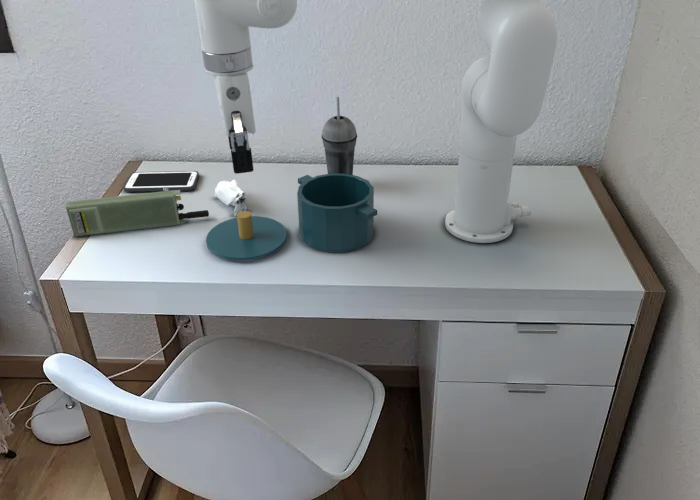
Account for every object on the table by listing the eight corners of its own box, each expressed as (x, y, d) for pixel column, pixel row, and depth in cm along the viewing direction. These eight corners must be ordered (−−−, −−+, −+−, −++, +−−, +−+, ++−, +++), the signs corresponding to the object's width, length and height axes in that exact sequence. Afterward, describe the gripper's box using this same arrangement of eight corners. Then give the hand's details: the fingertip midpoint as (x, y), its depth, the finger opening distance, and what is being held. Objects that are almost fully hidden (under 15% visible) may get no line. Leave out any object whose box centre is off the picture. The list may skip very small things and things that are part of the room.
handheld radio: (75, 229, 125) (209, 214, 129) (73, 239, 122) (209, 223, 126) (66, 199, 121) (204, 184, 125) (64, 208, 118) (205, 193, 123)
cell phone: (132, 176, 143) (131, 172, 143) (199, 174, 144) (199, 170, 143) (123, 192, 137) (122, 188, 136) (193, 191, 137) (193, 186, 137)
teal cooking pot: (330, 203, 132) (329, 162, 127) (398, 239, 120) (400, 195, 116) (276, 227, 125) (273, 184, 120) (343, 267, 113) (343, 222, 108)
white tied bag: (257, 212, 132) (231, 185, 137) (253, 188, 127) (226, 161, 132) (236, 224, 130) (211, 195, 135) (231, 200, 125) (205, 171, 130)
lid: (256, 213, 129) (253, 187, 126) (303, 242, 120) (301, 214, 117) (191, 240, 121) (187, 213, 118) (236, 273, 112) (233, 245, 109)
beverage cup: (359, 180, 141) (358, 89, 130) (356, 196, 135) (355, 102, 124) (325, 178, 142) (322, 88, 131) (321, 194, 135) (317, 101, 125)
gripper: (257, 73, 96) (269, 179, 105) (247, 42, 110) (258, 137, 119) (205, 79, 95) (222, 185, 104) (201, 47, 109) (216, 142, 118)
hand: (241, 159), depth 112 cm, fingers open, 9 cm apart
